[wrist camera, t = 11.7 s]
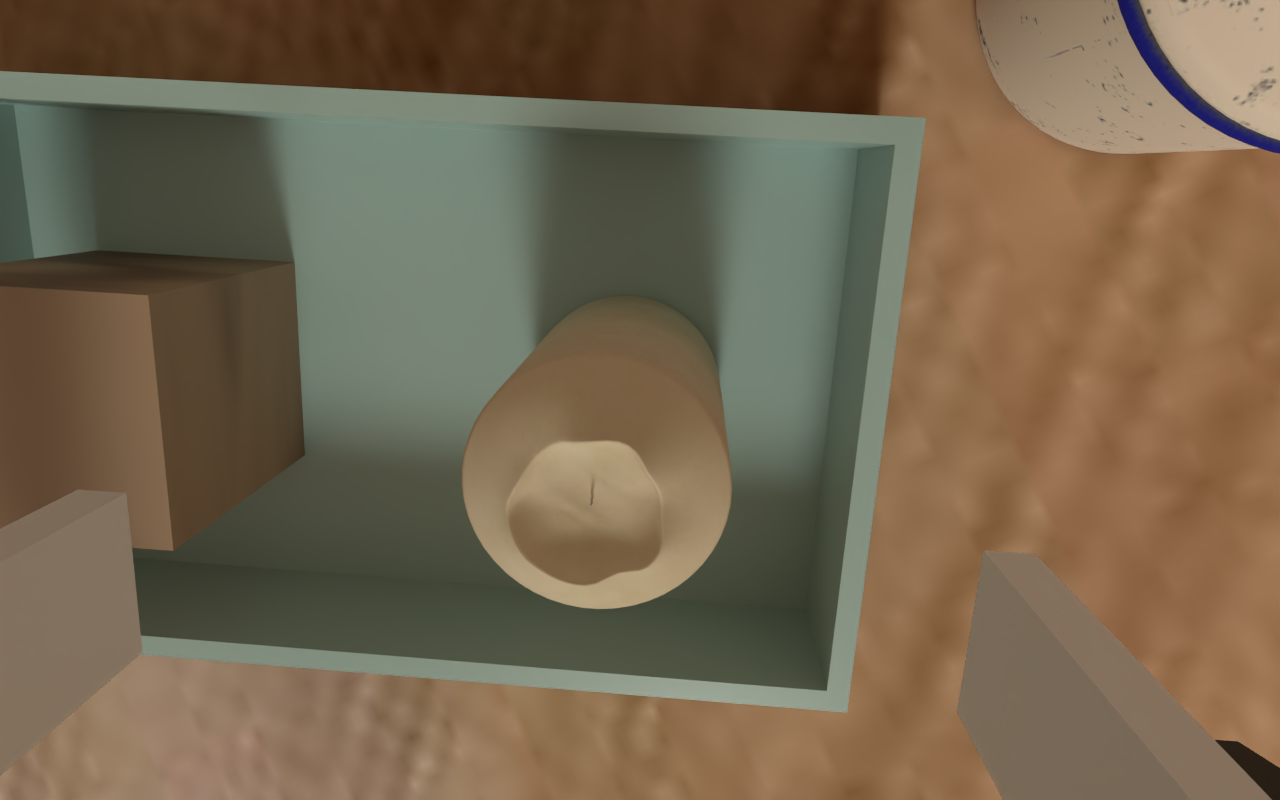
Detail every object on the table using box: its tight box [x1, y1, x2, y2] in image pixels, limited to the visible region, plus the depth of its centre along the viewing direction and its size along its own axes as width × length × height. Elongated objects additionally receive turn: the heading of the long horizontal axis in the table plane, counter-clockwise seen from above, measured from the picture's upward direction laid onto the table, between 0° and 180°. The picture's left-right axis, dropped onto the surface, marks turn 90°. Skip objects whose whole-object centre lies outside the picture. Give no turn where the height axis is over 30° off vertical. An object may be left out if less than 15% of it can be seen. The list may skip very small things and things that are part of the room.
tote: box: [0, 71, 926, 712], centre depth 24 cm, size 25×15×5 cm, turn 87°
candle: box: [462, 296, 732, 609], centre depth 21 cm, size 6×6×10 cm
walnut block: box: [0, 250, 305, 551], centre depth 23 cm, size 6×6×7 cm
